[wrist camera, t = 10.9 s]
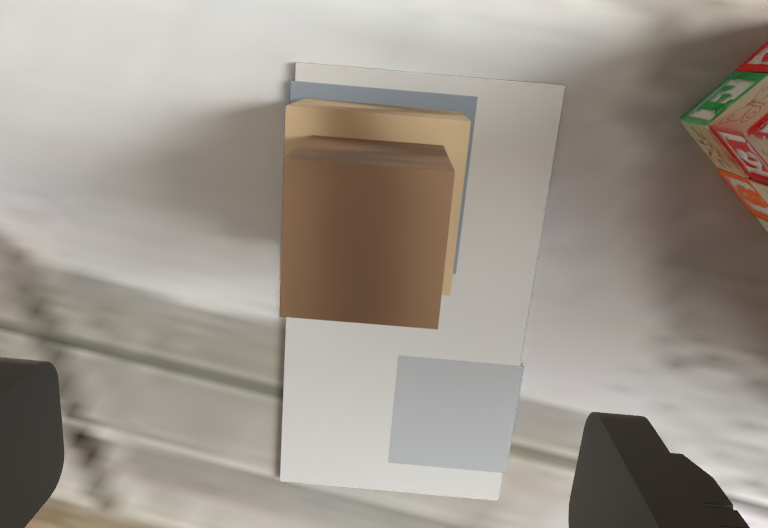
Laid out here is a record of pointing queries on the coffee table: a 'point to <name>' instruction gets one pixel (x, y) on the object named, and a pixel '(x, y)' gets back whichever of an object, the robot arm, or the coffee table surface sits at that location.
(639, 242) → the coffee table surface
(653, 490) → the robot arm
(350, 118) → the oak block
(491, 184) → the white board
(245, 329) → the coffee table surface
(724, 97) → the stack of blocks
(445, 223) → the walnut block
